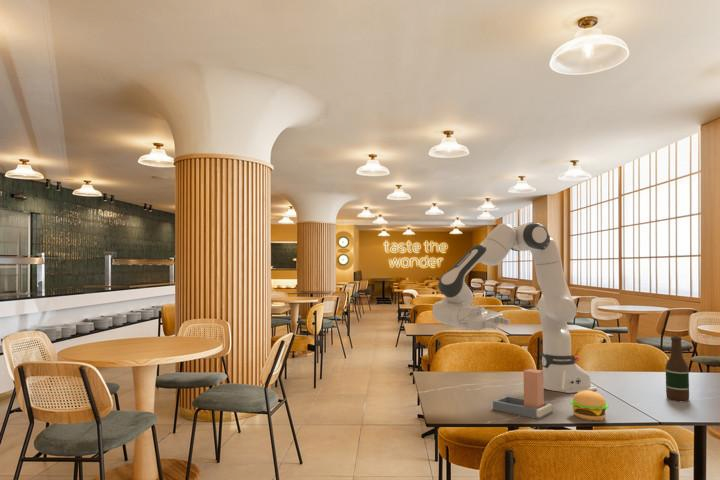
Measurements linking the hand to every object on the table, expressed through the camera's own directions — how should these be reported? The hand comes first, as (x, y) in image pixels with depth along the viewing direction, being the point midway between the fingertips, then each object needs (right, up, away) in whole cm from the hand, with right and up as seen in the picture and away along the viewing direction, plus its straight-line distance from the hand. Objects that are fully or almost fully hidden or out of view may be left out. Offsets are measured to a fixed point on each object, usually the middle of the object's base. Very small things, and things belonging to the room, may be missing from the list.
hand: (503, 324), depth 190 cm
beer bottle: (+70, -31, +9) cm, 77 cm away
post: (+8, -29, -10) cm, 31 cm away
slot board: (+5, -30, -7) cm, 31 cm away
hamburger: (+26, -30, -14) cm, 42 cm away
